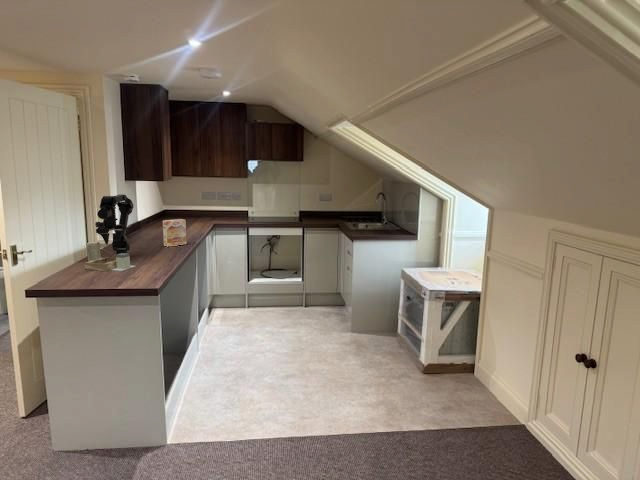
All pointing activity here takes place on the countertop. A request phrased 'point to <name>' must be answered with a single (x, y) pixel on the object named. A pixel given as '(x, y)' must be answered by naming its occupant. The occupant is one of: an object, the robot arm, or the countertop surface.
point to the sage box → (123, 260)
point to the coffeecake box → (174, 232)
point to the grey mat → (122, 269)
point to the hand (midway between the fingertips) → (112, 243)
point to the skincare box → (93, 251)
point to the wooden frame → (101, 264)
